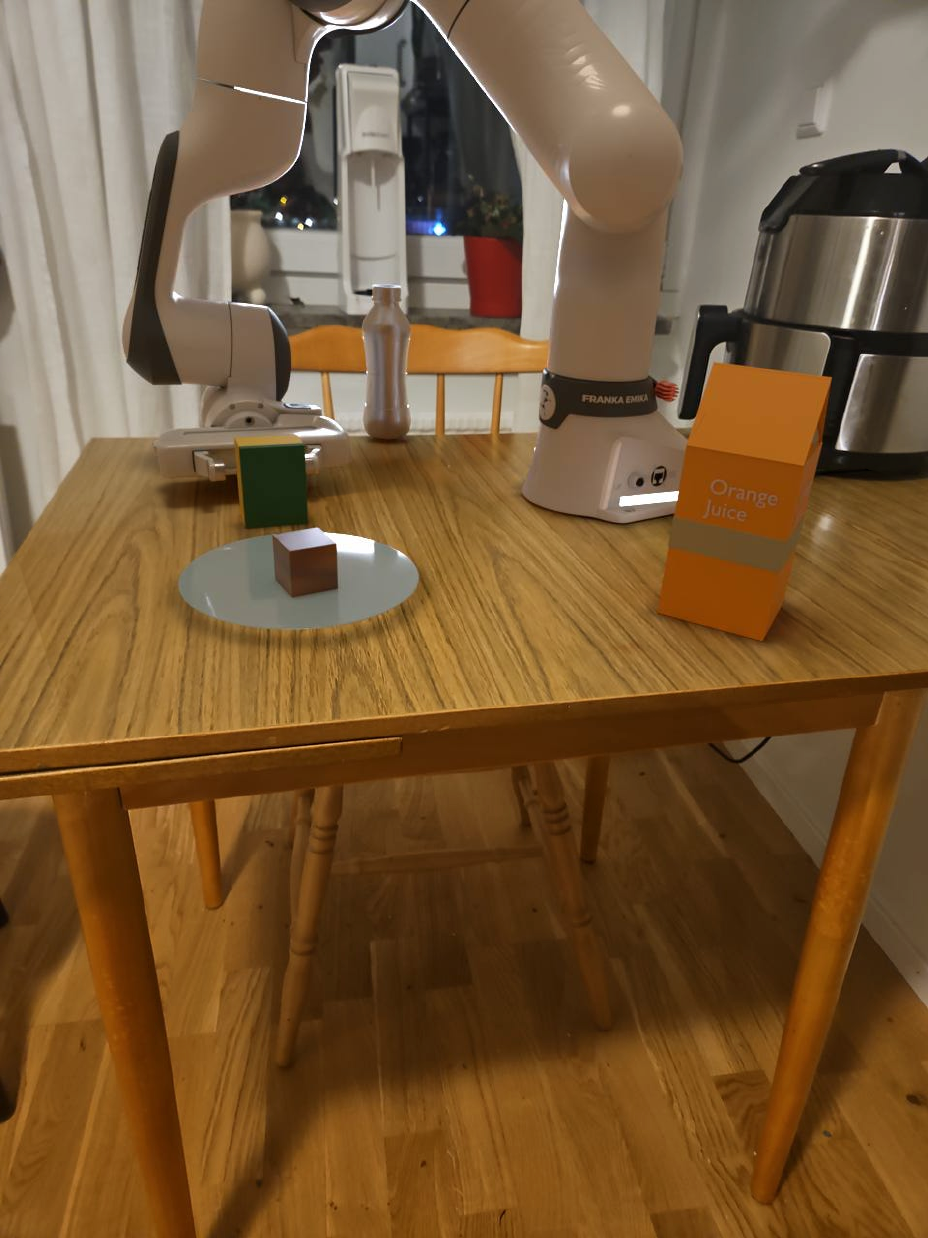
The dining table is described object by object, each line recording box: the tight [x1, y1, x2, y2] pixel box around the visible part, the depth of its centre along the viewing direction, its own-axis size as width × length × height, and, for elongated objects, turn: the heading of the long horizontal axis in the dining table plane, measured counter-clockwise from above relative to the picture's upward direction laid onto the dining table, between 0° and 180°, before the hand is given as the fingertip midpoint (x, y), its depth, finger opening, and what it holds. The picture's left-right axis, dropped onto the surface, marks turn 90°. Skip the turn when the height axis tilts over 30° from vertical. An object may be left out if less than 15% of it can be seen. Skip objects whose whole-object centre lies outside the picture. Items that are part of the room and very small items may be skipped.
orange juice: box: [656, 361, 833, 642], centre depth 65 cm, size 8×9×20 cm
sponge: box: [234, 435, 309, 530], centre depth 79 cm, size 6×4×9 cm, turn 111°
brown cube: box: [272, 527, 338, 597], centre depth 66 cm, size 4×4×4 cm
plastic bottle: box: [361, 284, 412, 441], centre depth 110 cm, size 6×7×20 cm
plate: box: [177, 532, 420, 631], centre depth 69 cm, size 20×20×1 cm
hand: (265, 470), depth 82 cm, fingers open, 8 cm apart
